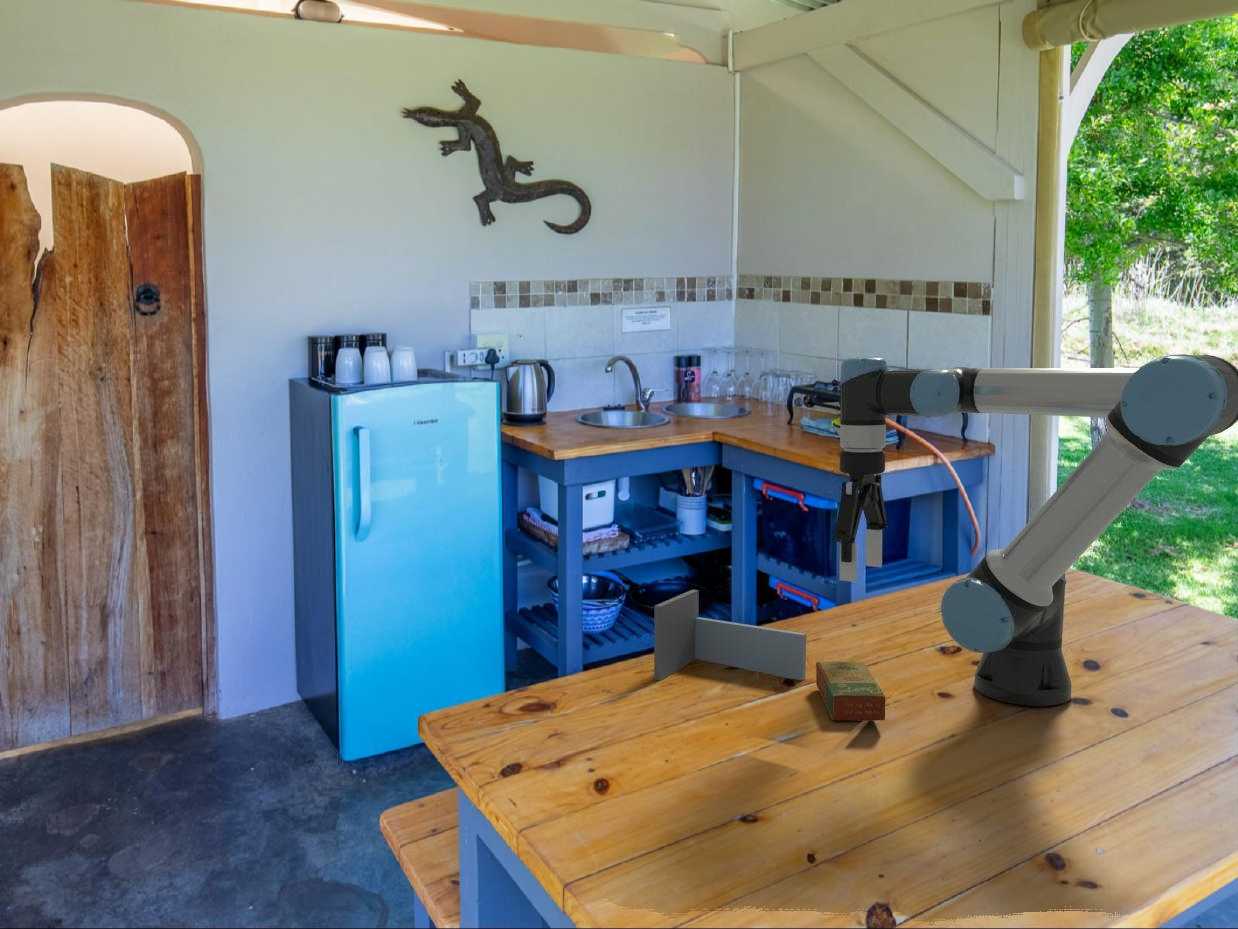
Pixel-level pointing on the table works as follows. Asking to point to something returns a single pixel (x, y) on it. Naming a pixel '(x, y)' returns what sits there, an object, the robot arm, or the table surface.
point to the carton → (850, 691)
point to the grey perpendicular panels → (721, 642)
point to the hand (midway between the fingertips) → (861, 573)
